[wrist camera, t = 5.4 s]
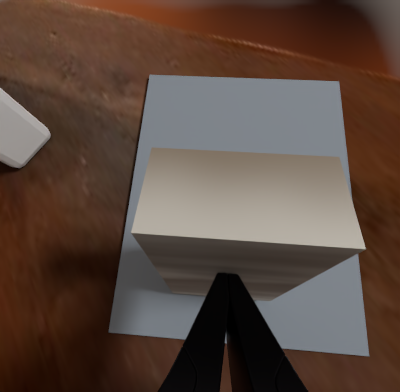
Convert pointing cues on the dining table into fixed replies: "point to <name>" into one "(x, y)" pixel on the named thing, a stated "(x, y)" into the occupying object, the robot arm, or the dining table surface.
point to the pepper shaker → (19, 133)
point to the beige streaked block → (244, 219)
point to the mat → (242, 142)
